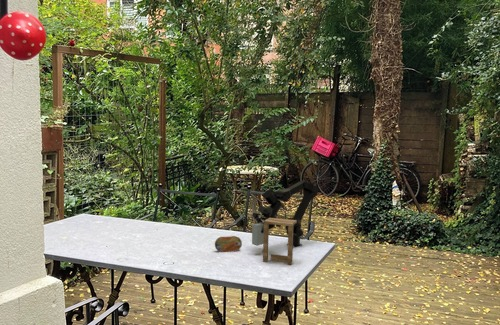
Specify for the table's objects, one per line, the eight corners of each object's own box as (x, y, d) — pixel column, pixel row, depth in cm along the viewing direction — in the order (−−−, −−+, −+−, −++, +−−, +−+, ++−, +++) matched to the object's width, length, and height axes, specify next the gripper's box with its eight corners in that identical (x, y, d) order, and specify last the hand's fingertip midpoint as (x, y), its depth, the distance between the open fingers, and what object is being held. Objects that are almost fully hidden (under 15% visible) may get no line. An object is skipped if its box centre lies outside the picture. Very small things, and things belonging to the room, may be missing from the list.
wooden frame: (268, 256, 247) (269, 217, 245) (295, 259, 242) (296, 220, 241) (262, 261, 238) (263, 221, 236) (291, 265, 233) (292, 223, 231)
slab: (261, 241, 255) (261, 222, 254) (266, 243, 252) (266, 223, 251) (251, 244, 250) (252, 224, 249) (257, 245, 248) (257, 225, 246)
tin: (215, 252, 253) (215, 237, 252) (214, 251, 256) (214, 236, 255) (241, 251, 257) (242, 236, 256) (240, 249, 260) (240, 235, 259)
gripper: (254, 198, 259) (239, 220, 253) (278, 202, 246) (263, 226, 239) (264, 210, 265) (250, 232, 259) (288, 215, 252) (273, 238, 245)
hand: (258, 231), depth 250 cm, fingers closed on slab, 4 cm apart
